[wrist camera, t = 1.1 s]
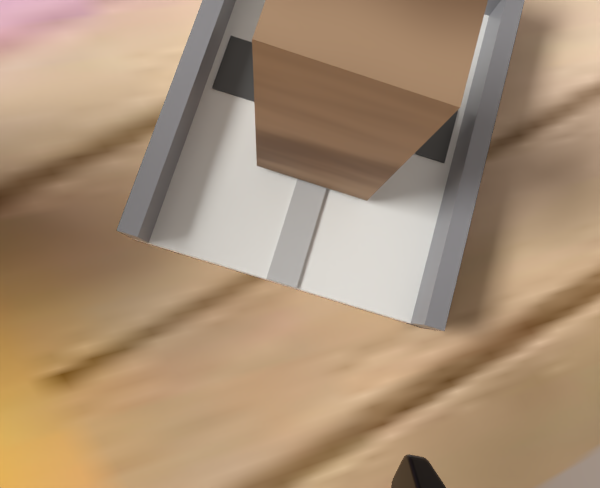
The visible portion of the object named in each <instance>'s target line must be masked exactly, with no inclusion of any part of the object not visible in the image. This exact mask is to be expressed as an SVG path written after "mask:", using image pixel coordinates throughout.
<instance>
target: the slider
mask: <svg viewBox="0 0 600 488" xmlns="http://www.w3.org/2000/svg"><path fill="white" fill-rule="evenodd" d="M487 2H488V0H265V3H264V6H263V9H262V12H261V15H260V18H259V20H258V23H257V26H256V29H255V32H254V35H253V38H252V52H253V78H254V105H255V131H256V158H257V166H259V167H262V168H265V169H268V170H272V171H275V172H278V173H281V174H284V175H287V176H290V177H294V178H297V179H300V180H303V181H306V182H309V183H313V184H316V185H319V186H322V187H325V188H328V189H331V190H335V191H338V192H341V193H344V194H347V195H350V196H354V197H357V198H360V199H363V200H366V201H367V200H368V199H369V198H370V197H371V196H372V195H373V194H374V193H375V192H376V191H377V190H378V189H379V188H380V187H381V186H382V185H383V184H384V183H385V182H386V181H387V180H388V179H389V178H390V177H391V176H392V175H393V174H394V173H395V172H396V171H397V170H398V169H399V168H400V167H401V166H402V165H403V164H404V163H405V162H406V161H407V160H408V159H409V158H410V157H411V156H412V155H413V154H414V153H415V152H416V151H417V150H418V149H419V148H420V147H421V146H422V145H423V144H424V143H425V142H426V141H427V140H428V139H429V138H430V137H431V136H432V135H433V134H434V133H435V132H436V131H437V130H438V129H439V128H440V127H441V126H442V125H443V124H444V123H445V122H446V121H447V120H448V119H449V118H450V117H451V116H452V115H453V114H454V113H455V112H456V111H457V110H458V109H459V108H460V107H461V103H462V99H463V95H464V91H465V87H466V83H467V79H468V76H469V72H470V68H471V64H472V60H473V56H474V52H475V48H476V44H477V41H478V37H479V33H480V29H481V25H482V21H483V17H484V13H485V9H486V6H487Z"/></svg>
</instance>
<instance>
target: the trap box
mask: <svg viewBox="0 0 600 488" xmlns="http://www.w3.org/2000/svg"><path fill="white" fill-rule="evenodd" d="M264 3H265V0H203V1H202V3H201V6H200V9H199V11H198V14H197V17H196V19H195V22H194V25H193V27H192V30H191V33H190V35H189V38H188V41H187V43H186V46H185V49H184V51H183V54H182V57H181V59H180V62H179V65H178V67H177V70H176V73H175V75H174V78H173V81H172V83H171V86H170V89H169V91H168V94H167V97H166V99H165V102H164V105H163V107H162V110H161V113H160V115H159V118H158V121H157V124H156V126H155V129H154V132H153V134H152V137H151V140H150V142H149V145H148V148H147V150H146V153H145V156H144V158H143V161H142V164H141V166H140V169H139V172H138V174H137V177H136V180H135V182H134V185H133V188H132V190H131V193H130V196H129V198H128V201H127V204H126V206H125V209H124V212H123V214H122V217H121V220H120V222H119V225H118V228H117V231H118V232H120V233H122V234H124V235H126V236H128V237H130V238H132V239H134V240H137V241H140V242H143V243H146V244H150V245H153V246H156V247H159V248H163V249H166V250H169V251H172V252H176V253H179V254H182V255H186V256H189V257H192V258H195V259H199V260H202V261H205V262H208V263H212V264H215V265H218V266H221V267H225V268H228V269H231V270H234V271H238V272H241V273H244V274H247V275H251V276H254V277H257V278H261V279H264V280H267V281H270V282H274V283H277V284H280V285H283V286H287V287H290V288H293V289H296V290H300V291H303V292H306V293H309V294H313V295H316V296H319V297H323V298H326V299H329V300H332V301H336V302H339V303H342V304H345V305H349V306H352V307H355V308H358V309H362V310H365V311H368V312H371V313H375V314H378V315H381V316H385V317H388V318H391V319H394V320H398V321H401V322H404V323H407V324H411V325H414V326H417V327H420V328H426V329H433V330H440V331H445V327H446V323H447V318H448V314H449V310H450V306H451V302H452V298H453V294H454V290H455V285H456V281H457V277H458V273H459V269H460V265H461V261H462V256H463V252H464V248H465V244H466V240H467V236H468V232H469V228H470V223H471V219H472V215H473V211H474V207H475V203H476V199H477V195H478V190H479V186H480V182H481V178H482V174H483V170H484V166H485V161H486V157H487V153H488V149H489V145H490V141H491V137H492V133H493V128H494V124H495V120H496V116H497V112H498V108H499V104H500V100H501V95H502V91H503V87H504V83H505V79H506V75H507V71H508V66H509V62H510V58H511V54H512V50H513V46H514V42H515V38H516V33H517V29H518V25H519V21H520V17H521V13H522V9H523V5H524V0H488V2H487V6H486V9H485V13H484V17H483V21H482V25H481V29H480V33H479V37H478V41H477V44H476V48H475V52H474V56H473V60H472V64H471V68H470V72H469V76H468V79H467V83H466V87H465V91H464V95H463V99H462V103H461V107H460V108H459V109H458V110H457V111H456V112H455V113H454V114H453V115H452V116H451V117H450V118H449V119H448V120H447V121H446V122H445V123H444V124H443V125H442V126H441V127H440V128H439V129H438V130H437V131H436V132H435V133H434V134H433V135H432V136H431V137H430V138H429V139H428V140H427V141H426V142H425V143H424V144H423V145H422V146H421V147H420V148H419V149H418V150H417V151H416V152H415V153H414V154H413V155H412V156H411V157H410V158H409V159H408V160H407V161H406V162H405V163H404V164H403V165H402V166H401V167H400V168H399V169H398V170H397V171H396V172H395V173H394V174H393V175H392V176H391V177H390V178H389V179H388V180H387V181H386V182H385V183H384V184H383V185H382V186H381V187H380V188H379V189H378V190H377V191H376V192H375V193H374V194H373V195H372V196H371V197H370V198H369V199H368V200H367V201H366V200H363V199H360V198H357V197H354V196H350V195H347V194H344V193H341V192H338V191H335V190H331V189H328V188H325V187H322V186H319V185H316V184H313V183H309V182H306V181H303V180H300V179H297V178H294V177H290V176H287V175H284V174H281V173H278V172H275V171H272V170H268V169H265V168H262V167H259V166H257V158H256V131H255V105H254V78H253V52H252V38H253V35H254V32H255V29H256V26H257V23H258V20H259V18H260V15H261V12H262V9H263V6H264Z"/></svg>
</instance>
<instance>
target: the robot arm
mask: <svg viewBox="0 0 600 488" xmlns="http://www.w3.org/2000/svg"><path fill="white" fill-rule="evenodd" d="M391 488H446V487H445V485H444V484H443V482H442V481H441V479H440V478H439V476H438V475H437V473H436V472H435V470H434V469H433V467H432V466H431V464H430V463H429V461H428V460H427V459H426V458H424V457H420V456H414V455H406V456H404V458H403V460H402V462H401V464H400V466H399V468H398V470H397V472H396V474H395V476H394V478H393V481H392V486H391Z"/></svg>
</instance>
